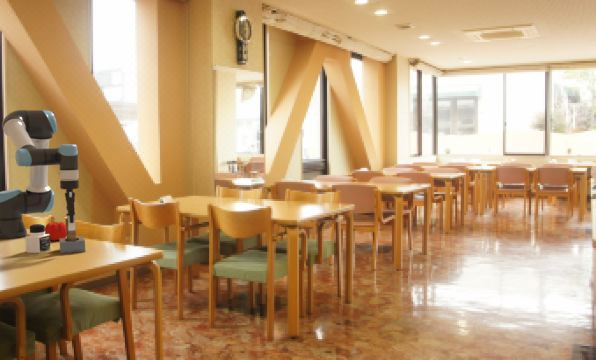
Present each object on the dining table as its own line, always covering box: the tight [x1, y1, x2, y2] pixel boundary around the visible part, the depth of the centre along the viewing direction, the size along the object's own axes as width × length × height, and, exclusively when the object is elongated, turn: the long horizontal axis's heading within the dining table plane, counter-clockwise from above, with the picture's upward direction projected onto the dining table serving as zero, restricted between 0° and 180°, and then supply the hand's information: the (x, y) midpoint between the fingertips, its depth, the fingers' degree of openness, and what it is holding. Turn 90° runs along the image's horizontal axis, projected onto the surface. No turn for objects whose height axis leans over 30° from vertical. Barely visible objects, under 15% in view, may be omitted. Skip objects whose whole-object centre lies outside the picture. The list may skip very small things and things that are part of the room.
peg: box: [65, 217, 78, 241], centre depth 242 cm, size 4×4×14 cm
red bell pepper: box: [44, 221, 67, 241], centre depth 267 cm, size 11×11×9 cm
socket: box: [58, 236, 86, 255], centre depth 242 cm, size 10×10×5 cm
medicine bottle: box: [24, 223, 51, 254], centre depth 241 cm, size 7×7×12 cm
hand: (71, 227), depth 242 cm, fingers open, 13 cm apart
